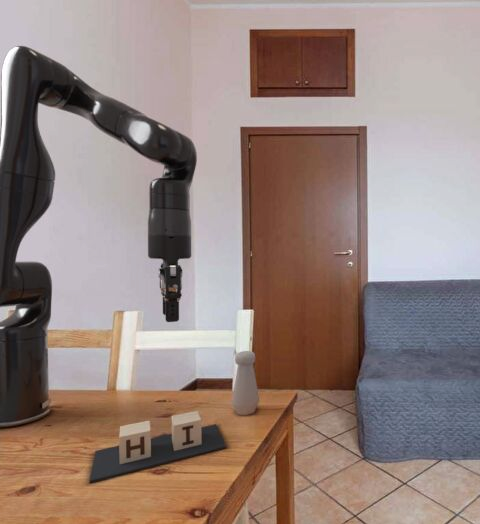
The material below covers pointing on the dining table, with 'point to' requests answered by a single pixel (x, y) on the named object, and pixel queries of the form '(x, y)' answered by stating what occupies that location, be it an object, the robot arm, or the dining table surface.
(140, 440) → the beige rounded cube
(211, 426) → the word mat
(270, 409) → the dining table surface
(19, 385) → the robot arm
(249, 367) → the salt shaker
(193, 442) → the beige cube block
